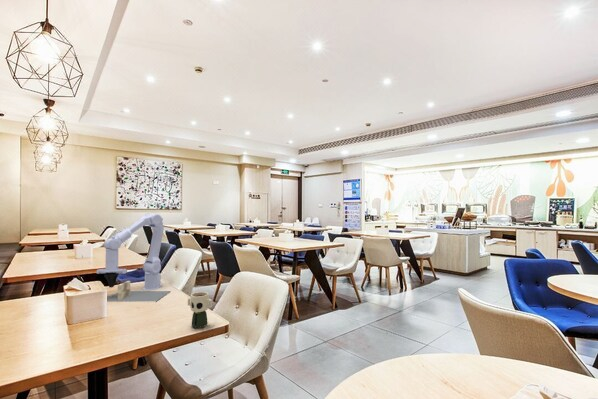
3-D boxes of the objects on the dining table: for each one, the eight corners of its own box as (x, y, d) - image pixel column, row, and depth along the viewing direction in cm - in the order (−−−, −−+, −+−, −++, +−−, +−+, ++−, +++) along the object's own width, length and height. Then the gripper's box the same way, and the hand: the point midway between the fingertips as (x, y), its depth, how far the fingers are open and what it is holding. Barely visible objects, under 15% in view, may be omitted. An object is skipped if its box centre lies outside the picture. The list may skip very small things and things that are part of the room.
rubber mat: (120, 292, 168) (120, 291, 168) (170, 291, 168) (170, 291, 168) (100, 302, 150) (100, 301, 150) (156, 302, 150) (156, 301, 150)
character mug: (182, 328, 119) (182, 295, 119) (192, 321, 126) (192, 290, 126) (207, 330, 116) (207, 297, 117) (215, 323, 123) (216, 292, 124)
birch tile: (126, 294, 161) (127, 280, 161) (130, 294, 161) (130, 280, 161) (117, 299, 152) (117, 285, 152) (120, 299, 152) (120, 285, 152)
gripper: (93, 262, 153) (92, 289, 152) (121, 262, 153) (121, 289, 153) (101, 260, 160) (101, 285, 160) (129, 260, 160) (128, 285, 160)
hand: (111, 287), depth 157 cm, fingers closed
